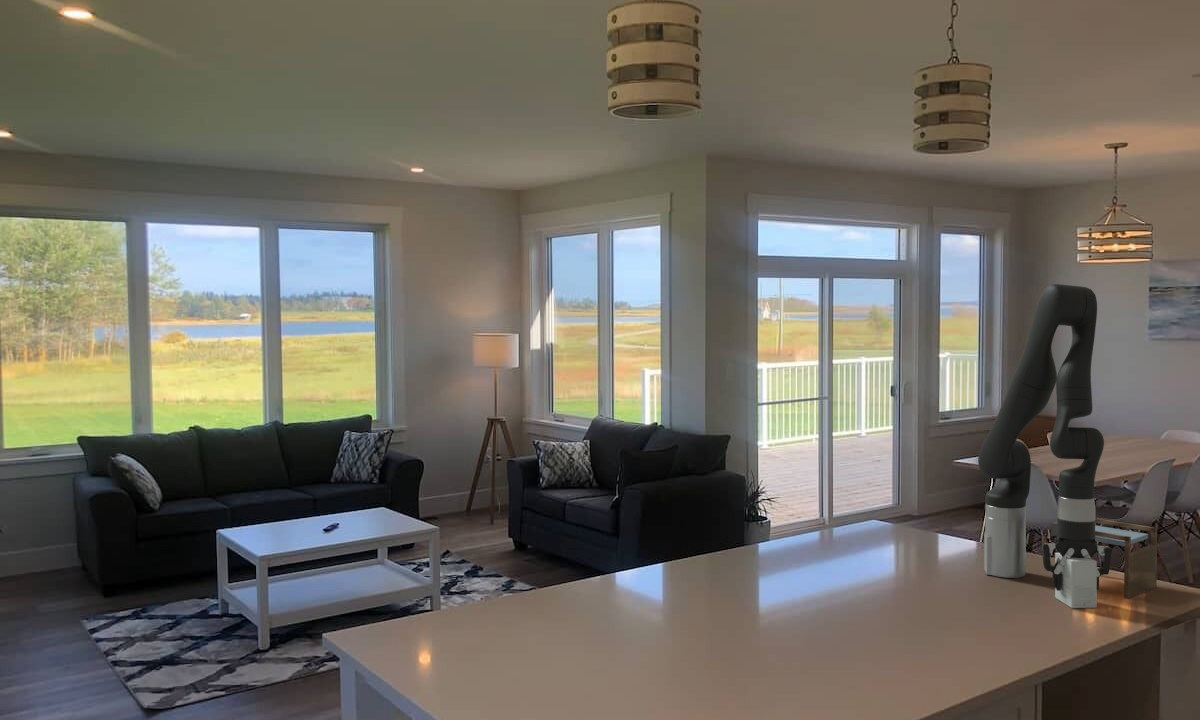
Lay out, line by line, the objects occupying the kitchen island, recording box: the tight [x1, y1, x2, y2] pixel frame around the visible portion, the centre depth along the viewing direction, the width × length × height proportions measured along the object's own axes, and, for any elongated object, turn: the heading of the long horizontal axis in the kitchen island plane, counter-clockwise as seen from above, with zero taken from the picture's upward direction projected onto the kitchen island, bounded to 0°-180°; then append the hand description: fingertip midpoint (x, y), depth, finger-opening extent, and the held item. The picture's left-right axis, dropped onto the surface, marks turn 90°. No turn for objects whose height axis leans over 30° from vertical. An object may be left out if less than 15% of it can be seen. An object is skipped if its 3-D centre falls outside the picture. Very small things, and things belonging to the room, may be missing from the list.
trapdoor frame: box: [1091, 517, 1158, 599], centre depth 218 cm, size 15×15×14 cm
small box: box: [1054, 552, 1098, 609], centre depth 205 cm, size 8×6×10 cm
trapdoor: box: [1050, 521, 1149, 547], centre depth 220 cm, size 18×12×3 cm, turn 37°
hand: (1075, 590), depth 205 cm, fingers closed on small box, 6 cm apart
